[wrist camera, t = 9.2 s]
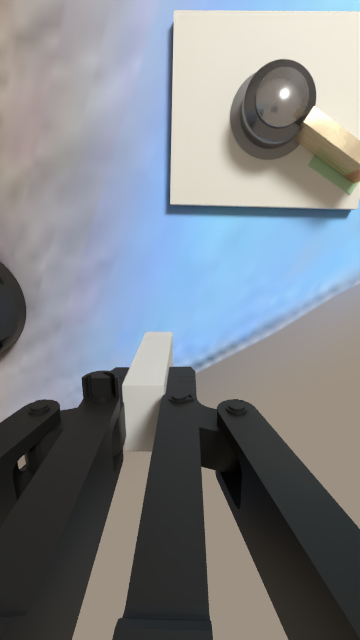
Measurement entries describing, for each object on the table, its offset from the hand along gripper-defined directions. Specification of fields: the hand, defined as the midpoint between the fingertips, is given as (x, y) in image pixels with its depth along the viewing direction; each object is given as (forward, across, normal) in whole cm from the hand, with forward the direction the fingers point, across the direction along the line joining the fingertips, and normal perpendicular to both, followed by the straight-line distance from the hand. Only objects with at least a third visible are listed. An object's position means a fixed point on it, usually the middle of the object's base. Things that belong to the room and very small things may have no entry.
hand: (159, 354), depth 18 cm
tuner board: (+24, +11, +20) cm, 33 cm away
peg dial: (+22, +14, +17) cm, 31 cm away
